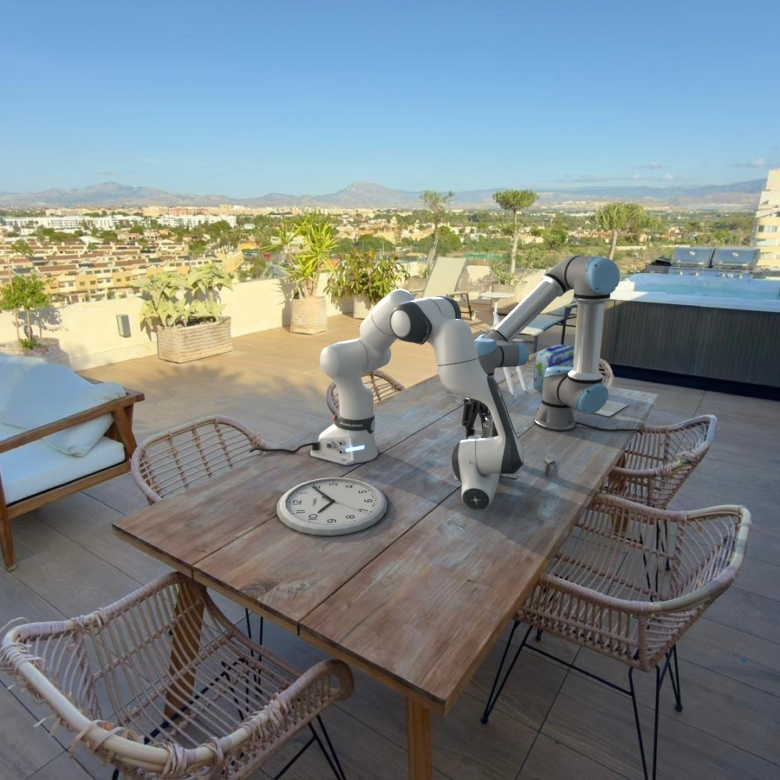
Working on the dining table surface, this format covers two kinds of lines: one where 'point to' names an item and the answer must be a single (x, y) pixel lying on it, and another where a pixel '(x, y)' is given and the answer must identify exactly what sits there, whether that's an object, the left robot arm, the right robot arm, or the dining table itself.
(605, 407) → the invitation card
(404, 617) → the dining table surface
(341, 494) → the wall clock
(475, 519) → the dining table surface
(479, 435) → the lid
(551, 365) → the lunch box
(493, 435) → the jar
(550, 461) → the fork
